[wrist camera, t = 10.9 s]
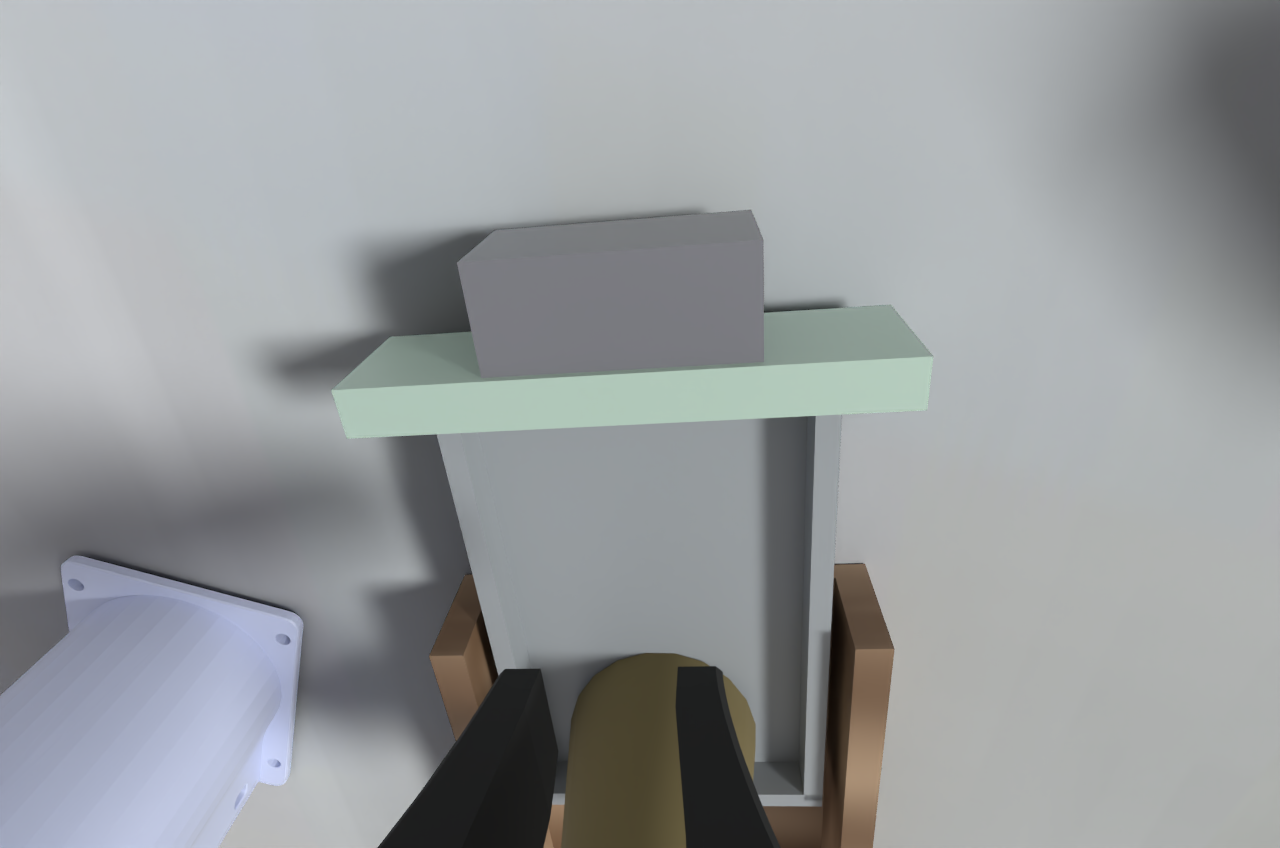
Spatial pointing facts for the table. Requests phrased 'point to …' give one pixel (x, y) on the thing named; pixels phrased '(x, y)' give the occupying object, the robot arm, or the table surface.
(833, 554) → the drawer
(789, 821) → the caddy
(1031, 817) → the table surface
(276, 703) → the robot arm
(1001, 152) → the table surface
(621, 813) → the cork
